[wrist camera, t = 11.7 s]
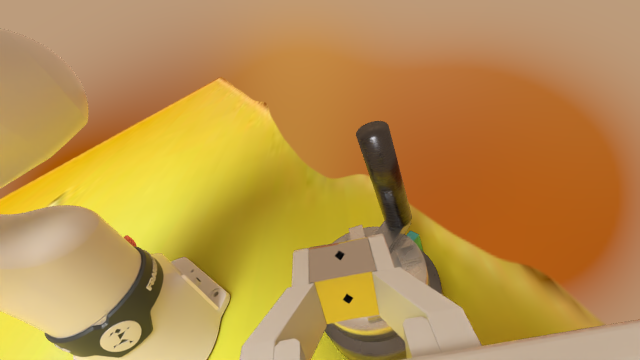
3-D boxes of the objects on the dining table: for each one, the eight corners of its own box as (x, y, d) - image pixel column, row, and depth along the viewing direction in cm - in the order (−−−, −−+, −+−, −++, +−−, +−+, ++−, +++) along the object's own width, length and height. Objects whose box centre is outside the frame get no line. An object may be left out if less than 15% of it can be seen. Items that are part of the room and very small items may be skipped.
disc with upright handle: (393, 368, 29) (339, 265, 20) (302, 306, 37) (232, 211, 28) (459, 247, 36) (443, 127, 27) (370, 217, 44) (332, 116, 34)
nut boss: (304, 310, 42) (289, 289, 39) (385, 234, 46) (377, 210, 43) (384, 403, 31) (371, 384, 28) (478, 293, 36) (475, 267, 33)
